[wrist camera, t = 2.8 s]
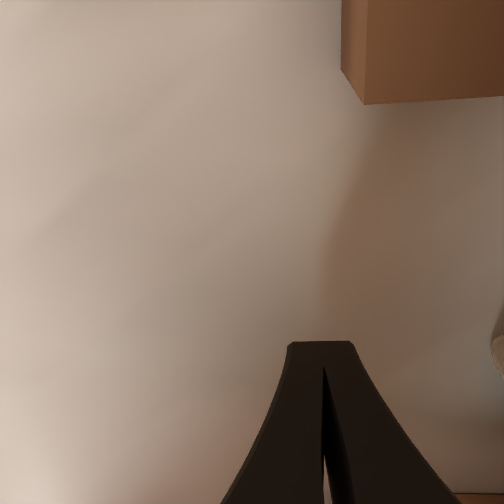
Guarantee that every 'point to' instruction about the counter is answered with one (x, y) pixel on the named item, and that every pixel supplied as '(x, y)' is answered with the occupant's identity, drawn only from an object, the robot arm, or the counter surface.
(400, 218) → the counter surface
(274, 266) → the counter surface
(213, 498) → the counter surface
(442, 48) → the chute
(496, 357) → the egg carton
